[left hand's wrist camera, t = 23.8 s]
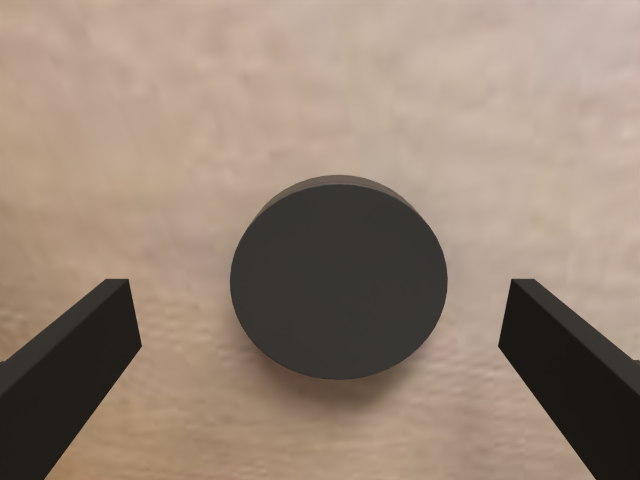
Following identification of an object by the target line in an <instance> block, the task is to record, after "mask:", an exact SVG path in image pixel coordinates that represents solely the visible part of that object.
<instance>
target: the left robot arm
mask: <svg viewBox="0 0 640 480" xmlns="http://www.w3.org/2000/svg"><path fill="white" fill-rule="evenodd" d="M141 347H142V344H141V339H140V334H139V329H138V324H137V319H136V314H135V309H134V304H133V299H132V294H131V289H130V284H129V279H105V280H104V281H103V282H102V283H100V284H99V285H98V286H97V287H96V288H94V289H93V290H92V291H91V292H89V293H88V294H87V295H86V296H85V297H83V298H82V299H81V300H80V301H78V302H77V303H76V304H75V305H74V306H72V307H71V308H70V309H69V310H67V311H66V312H65V313H64V314H63V315H61V316H60V317H59V318H58V319H56V320H55V321H54V322H53V323H51V324H50V325H49V326H48V327H47V328H45V329H44V330H43V331H42V332H40V333H39V334H38V335H37V336H36V337H34V338H33V339H32V340H31V341H29V342H28V343H27V344H26V345H25V346H23V347H22V348H21V349H20V350H18V351H17V352H16V353H15V354H14V355H12V356H11V357H10V358H9V359H7V360H6V361H2V362H0V480H44V479H45V478H46V476H47V475H48V473H49V472H50V471H51V469H52V468H53V467H54V465H55V464H56V463H57V461H58V460H59V458H60V457H61V456H62V454H63V453H64V452H65V450H66V449H67V448H68V446H69V445H70V444H71V442H72V441H73V439H74V438H75V437H76V435H77V434H78V433H79V431H80V430H81V429H82V427H83V426H84V424H85V423H86V422H87V420H88V419H89V418H90V416H91V415H92V414H93V412H94V411H95V410H96V408H97V407H98V405H99V404H100V403H101V401H102V400H103V399H104V397H105V396H106V395H107V393H108V392H109V390H110V389H111V388H112V386H113V385H114V384H115V382H116V381H117V380H118V378H119V377H120V376H121V374H122V373H123V371H124V370H125V369H126V367H127V366H128V365H129V363H130V362H131V361H132V359H133V358H134V356H135V355H136V354H137V352H138V351H139V350H140V348H141ZM498 347H499V348H500V350H501V351H502V352H503V354H504V355H505V356H506V358H507V359H508V361H509V362H510V363H511V365H512V366H513V367H514V369H515V370H516V371H517V373H518V374H519V376H520V377H521V378H522V380H523V381H524V382H525V384H526V385H527V386H528V388H529V389H530V390H531V392H532V393H533V395H534V396H535V397H536V399H537V400H538V401H539V403H540V404H541V405H542V407H543V408H544V410H545V411H546V412H547V414H548V415H549V416H550V418H551V419H552V420H553V422H554V423H555V424H556V426H557V427H558V429H559V430H560V431H561V433H562V434H563V435H564V437H565V438H566V439H567V441H568V442H569V444H570V445H571V446H572V448H573V449H574V450H575V452H576V453H577V454H578V456H579V457H580V458H581V460H582V461H583V463H584V464H585V465H586V467H587V468H588V469H589V471H590V472H591V473H592V475H593V476H594V478H595V479H596V480H640V361H639V360H633V359H631V358H630V357H629V356H628V355H626V354H625V353H624V352H623V351H622V350H620V349H619V348H618V347H617V346H615V345H614V344H613V343H612V342H611V341H609V340H608V339H607V338H606V337H604V336H603V335H602V334H601V333H600V332H598V331H597V330H596V329H595V328H593V327H592V326H591V325H590V324H589V323H587V322H586V321H585V320H584V319H582V318H581V317H580V316H579V315H577V314H576V313H575V312H574V311H573V310H571V309H570V308H569V307H568V306H566V305H565V304H564V303H563V302H562V301H560V300H559V299H558V298H557V297H555V296H554V295H553V294H552V293H551V292H549V291H548V290H547V289H546V288H544V287H543V286H542V285H541V284H540V283H538V282H537V281H536V280H535V279H511V284H510V289H509V294H508V299H507V304H506V309H505V314H504V319H503V324H502V329H501V334H500V339H499V344H498Z"/></svg>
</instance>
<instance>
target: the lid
mask: <svg viewBox="0 0 640 480" xmlns="http://www.w3.org/2000/svg"><path fill="white" fill-rule="evenodd" d="M447 280H448V277H447V268H446V262H445V258H444V255H443V251H442V249H441V246H440V244H439V242H438V239H437V238H436V236H435V235H434V233H433V231H432V230H431V228H430V227H429V225H428V224H427V223H426V222H425V221H424V219H423V218H422V217H421V216H420V215H419V214H418V213H417V211H416V210H415V209H414V208H413V207H412V206H411V205H410V204H409V203H408V202H407V201H406V200H405V199H404V198H403V197H401V196H400V195H399V194H397V193H396V192H394V191H393V190H391V189H390V188H388V187H385V186H383V185H381V184H379V183H377V182H374V181H371V180H368V179H365V178H360V177H355V176H346V175H331V176H321V177H316V178H312V179H308V180H305V181H302V182H300V183H297V184H295V185H293V186H291V187H289V188H287V189H285V190H284V191H282V192H281V193H279V194H278V195H276V196H275V197H274V198H273V199H271V200H270V201H269V202H268V203H267V204H266V205H265V206H264V207H263V208H262V209H261V211H260V212H259V213H258V214H257V215H256V217H255V218H254V220H253V221H252V223H251V224H250V225H249V227H248V228H247V230H246V232H245V233H244V235H243V236H242V238H241V240H240V242H239V244H238V247H237V249H236V251H235V254H234V258H233V262H232V266H231V275H230V291H231V297H232V302H233V306H234V309H235V312H236V315H237V317H238V319H239V321H240V323H241V326H242V327H243V329H244V330H245V332H246V333H247V335H248V336H249V338H250V339H251V340H252V341H253V342H254V344H255V345H256V346H257V347H258V348H259V349H260V350H261V351H262V352H264V353H265V354H266V355H267V356H268V357H270V358H271V359H273V360H274V361H275V362H277V363H279V364H281V365H282V366H284V367H286V368H288V369H290V370H293V371H295V372H298V373H300V374H304V375H308V376H311V377H316V378H322V379H334V380H341V379H354V378H360V377H365V376H369V375H373V374H376V373H379V372H381V371H384V370H386V369H389V368H390V367H392V366H394V365H396V364H398V363H400V362H401V361H403V360H404V359H406V358H407V357H408V356H410V355H411V354H412V353H413V352H414V351H416V350H417V349H418V348H419V347H420V346H421V345H422V344H423V342H424V341H425V340H426V339H427V338H428V336H429V335H430V334H431V332H432V331H433V329H434V328H435V326H436V324H437V322H438V320H439V318H440V316H441V313H442V310H443V307H444V304H445V299H446V294H447Z"/></svg>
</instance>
